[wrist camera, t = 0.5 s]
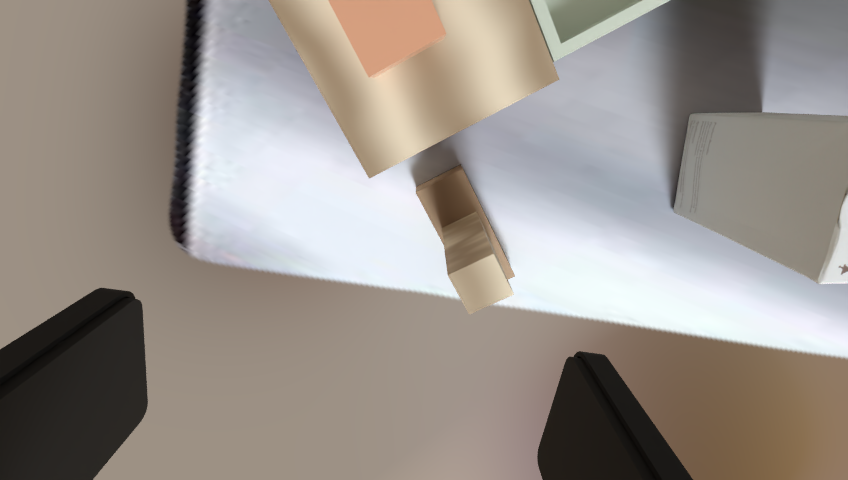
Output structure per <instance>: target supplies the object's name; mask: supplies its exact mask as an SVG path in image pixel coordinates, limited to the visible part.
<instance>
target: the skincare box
mask: <svg viewBox="0 0 848 480" xmlns="http://www.w3.org/2000/svg"><path fill="white" fill-rule="evenodd" d="M673 212H674V213H676V214H678V215H680V216H682V217H684V218H686V219H689V220H691V221H693V222H695V223H697V224H699V225H701V226H703V227H705V228H707V229H709V230H711V231H714V232H716V233H718V234H720V235H722V236H724V237H726V238H728V239H730V240H732V241H734V242H736V243H738V244H740V245H742V246H744V247H746V248H748V249H750V250H752V251H754V252H756V253H759V254H761V255H763V256H765V257H767V258H769V259H771V260H773V261H775V262H777V263H779V264H781V265H783V266H785V267H788V268H790V269H792V270H794V271H796V272H798V273H800V274H802V275H804V276H806V277H808V278H810V279H811V280H813V281H815V282H816V283H818V284H833V283H837V284H847V283H848V116H835V115H812V114H787V113H768V112H754V113H693V114H690V116H689V122H688V128H687V133H686V139H685V145H684V151H683V157H682V163H681V168H680V174H679V180H678V187H677V194H676V200H675V205H674V210H673Z"/></svg>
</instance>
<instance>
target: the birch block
mask: <svg viewBox="0 0 848 480" xmlns="http://www.w3.org/2000/svg"><path fill="white" fill-rule="evenodd" d="M269 2H270V4H271V5H272V7H273V9H274V11H275V12H276V14H277V16H278V18H279V20H280V21H281V23H282V25H283V27H284V28H285V30H286V32H287V34H288V35H289V37H290V39H291V41H292V43H293V44H294V46H295V48H296V50H297V51H298V53H299V55H300V57H301V59H302V60H303V62H304V64H305V66H306V67H307V69H308V71H309V73H310V74H311V76H312V78H313V80H314V82H315V83H316V85H317V87H318V89H319V90H320V92H321V94H322V96H323V97H324V99H325V101H326V103H327V105H328V106H329V108H330V110H331V112H332V113H333V115H334V117H335V119H336V120H337V122H338V124H339V126H340V128H341V129H342V131H343V133H344V135H345V136H346V138H347V140H348V142H349V144H350V145H351V147H352V149H353V151H354V152H355V154H356V156H357V158H358V159H359V161H360V163H361V165H362V167H363V168H364V170H365V172H366V174H367V175H368V177H369V178H371V177H373V176H375V175H377V174H379V173H381V172H383V171H385V170H386V169H388V168H390V167H392V166H394V165H396V164H398V163H400V162H402V161H404V160H406V159H408V158H409V157H411V156H413V155H415V154H417V153H419V152H421V151H423V150H425V149H427V148H429V147H431V146H432V145H434V144H436V143H438V142H440V141H442V140H444V139H446V138H448V137H450V136H452V135H454V134H455V133H457V132H459V131H461V130H463V129H465V128H467V127H469V126H471V125H473V124H475V123H477V122H478V121H480V120H482V119H484V118H486V117H488V116H490V115H492V114H494V113H496V112H498V111H500V110H501V109H503V108H505V107H507V106H509V105H511V104H513V103H515V102H517V101H519V100H521V99H523V98H524V97H526V96H528V95H530V94H532V93H534V92H536V91H538V90H540V89H542V88H544V87H546V86H547V85H549V84H551V83H553V82H555V81H557V80H559V77H558V75H557V72H556V69H555V67H554V64H553V62H552V59H551V57H550V54H549V51H548V49H547V46H546V44H545V41H544V38H543V36H542V33H541V31H540V28H539V25H538V23H537V20H536V18H535V15H534V12H533V10H532V7H531V5H530V2H529V0H432V2H433V5H434V7H435V9H436V11H437V13H438V16H439V18H440V20H441V22H442V25H443V27H444V29H445V31H446V33H447V34H446V36H445V38H444V39H443V40H441V41H439V42H438V43H436V44H434V45H432V46H430V47H429V48H427V49H425V50H423V51H422V52H420V53H418V54H416V55H414V56H413V57H411V58H409V59H407V60H405V61H404V62H402V63H400V64H398V65H397V66H395V67H393V68H391V69H389V70H388V71H386V72H384V73H382V74H381V75H379V76H377V77H375V78H369V77H368V75H367V73H366V72H365V70H364V68H363V66H362V64H361V62H360V60H359V58H358V56H357V54H356V52H355V51H354V49H353V47H352V45H351V43H350V41H349V39H348V37H347V35H346V33H345V31H344V30H343V28H342V26H341V24H340V22H339V20H338V18H337V16H336V14H335V12H334V10H333V9H332V7H331V5H330V3H329V1H328V0H269Z"/></svg>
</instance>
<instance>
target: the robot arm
mask: <svg viewBox="0 0 848 480" xmlns="http://www.w3.org/2000/svg"><path fill="white" fill-rule="evenodd" d="M146 383H147V381H146V365H145V346H144V328H143V310H142V304H141V302H140V301H139V300H137V299H135V297H134V295H133V293H131V292H129V291H122V290H114V289H106V288H99V289H96V290H94V291H93V292H91V293H90V294H88V295H86V296H85V297H83V298H82V299H80V300H78V301H77V302H75V303H74V304H72V305H70V306H69V307H68V308H66V309H64V310H62V311H61V312H59V313H58V314H56V315H55V316H53V317H51V318H50V319H48V320H47V321H45V322H44V323H42V324H40V325H39V326H37V327H36V328H34V329H32V330H31V331H29V332H27V333H26V334H24V335H23V336H21V337H19V338H18V339H16V340H15V341H13V342H11V343H10V344H8V345H7V346H5V347H4V348H2V349H0V480H93V478H94V477H95V476H96V475H97V474H98V472H99V471H100V470H101V469H102V468H103V466H104V465H105V464H106V463H107V462H108V460H109V459H110V458H111V457H112V456H113V454H114V453H115V452H116V451H117V449H118V448H119V447H120V446H121V445H122V444H123V442H124V441H125V440H126V439H127V437H128V436H129V435H130V434H131V433H132V431H133V430H134V429H135V428H136V427H137V425H138V424H139V423H140V422H141V420H142V419H143V417H144V415H145V413H146V409H147V404H148V401H147V400H148V399H147V384H146ZM538 466H539V469H540V473H541V476H542V479H543V480H693V479H692V478H691V476H690V475H689V473H688V472H687V470H686V469H685V468H684V466H683V465H682V463H681V462H680V460H679V459H678V458H677V456H676V455H675V453H674V452H673V451H672V449H671V448H670V446H669V445H668V444H667V442H666V441H665V439H664V438H663V436H662V435H661V434H660V432H659V431H658V429H657V428H656V426H655V425H654V424H653V422H652V421H651V419H650V418H649V416H648V415H647V414H646V412H645V411H644V409H643V408H642V407H641V405H640V404H639V402H638V401H637V400H636V398H635V397H634V395H633V394H632V392H631V391H630V389H629V388H628V387H627V385H626V384H625V382H624V381H623V380H622V378H621V377H620V376H619V374H618V372H617V371H616V370H615V368H614V367H613V365H612V364H611V363H610V361H609V360H608V358H607V357H606V356H605V355H602V354H595V353H588V352H580V351H579V352H577V353H576V354H575V355H574V357H568V358H567V360H566V362H565V365H564V369H563V372H562V375H561V378H560V381H559V384H558V387H557V391H556V394H555V397H554V400H553V403H552V407H551V410H550V413H549V416H548V419H547V423H546V426H545V429H544V432H543V435H542V439H541V442H540V445H539V449H538Z"/></svg>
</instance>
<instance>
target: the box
mask: <svg viewBox="0 0 848 480" xmlns="http://www.w3.org/2000/svg"><path fill="white" fill-rule="evenodd" d="M668 1H670V0H529V2H530V5H531V7H532V10H533V12H534V15H535V18H536V20H537V23H538V25H539V28H540V31H541V33H542V36H543V38H544V41H545V44H546V46H547V49H548V51H549V54H550V57H551V59H552V62H554V61H556V60H558V59H560V58H562V57H564V56H566V55H568V54H570V53H571V52H573V51H575V50H577V49H579V48H581V47H583V46H585V45H587V44H588V43H590V42H592V41H594V40H596V39H598V38H600V37H602V36H604V35H605V34H607V33H609V32H611V31H613V30H615V29H617V28H619V27H621V26H622V25H624V24H626V23H628V22H630V21H632V20H634V19H636V18H638V17H639V16H641V15H643V14H645V13H647V12H649V11H651V10H653V9H655V8H656V7H658V6H660V5H662V4H664V3H666V2H668Z"/></svg>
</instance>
